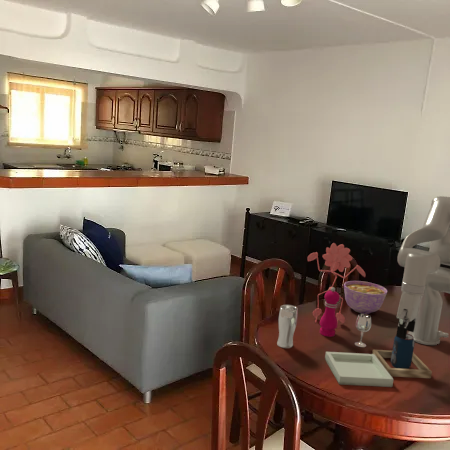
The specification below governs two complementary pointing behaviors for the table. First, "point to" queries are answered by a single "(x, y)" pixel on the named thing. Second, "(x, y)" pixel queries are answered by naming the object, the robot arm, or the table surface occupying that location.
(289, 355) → the table surface
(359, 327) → the wineglass
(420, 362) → the oak frame
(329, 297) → the pepper mill
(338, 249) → the figurine
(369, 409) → the table surface
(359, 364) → the sage dish
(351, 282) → the bowl of food
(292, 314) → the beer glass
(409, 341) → the soda can
